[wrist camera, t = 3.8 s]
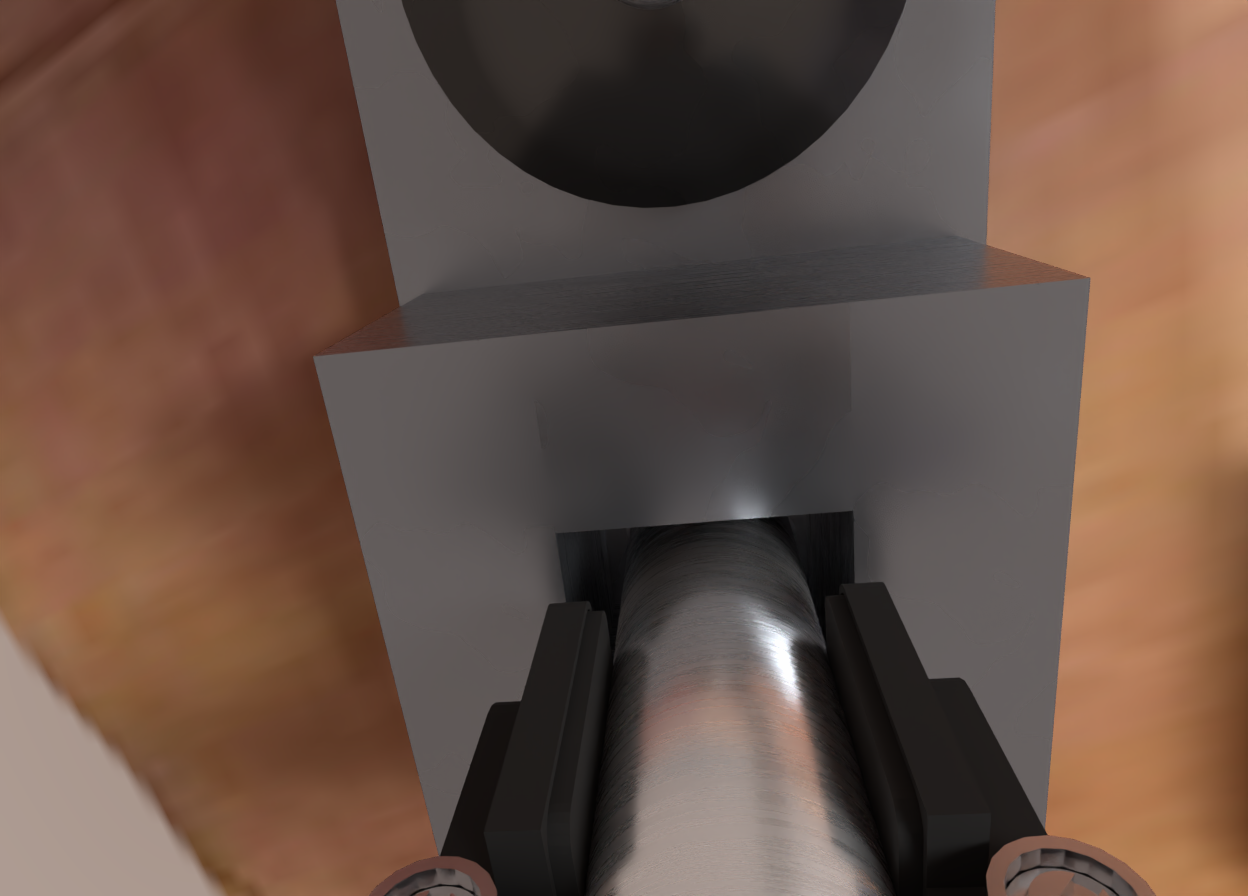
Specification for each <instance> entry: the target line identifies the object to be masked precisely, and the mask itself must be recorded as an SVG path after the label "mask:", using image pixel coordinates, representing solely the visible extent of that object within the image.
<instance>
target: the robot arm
mask: <svg viewBox="0 0 1248 896" xmlns="http://www.w3.org/2000/svg"><path fill="white" fill-rule="evenodd" d="M825 618H826V648H827V656H828V660H829V663H830V667H831V670H832V674H833V677H834V681H835V684H836V687H837V691H838V694H839V698H840V701H841V705H842V708H843V712H844V715H845V719H846V722H847V726H848V729H849V733H850V736H851V740H852V743H853V747H854V750H855V754H856V757H857V761H858V764H859V768H860V771H861V775H862V778H863V782H864V785H865V789H866V792H867V796H868V799H869V803H870V806H871V810H872V813H873V817H874V820H875V824H876V827H877V831H878V834H879V838H880V841H881V845H882V848H883V852H884V855H885V859H886V862H887V866H888V869H889V873H890V876H891V880H892V883H893V887H894V890H895V894H896V896H1156V895H1155V893H1154V892H1153V891H1152V889H1151V888H1150V886H1149V885H1148V883H1147V882H1146V881H1145V880H1144V879H1142V878H1141V877H1140V876H1139V875H1138V874H1137V873H1136V872H1134V871H1133V870H1132V869H1131V868H1130V867H1129V866H1128V865H1127V864H1125V863H1124V862H1122V861H1120V860H1119V859H1117V858H1115V857H1114V856H1112V855H1110V854H1108V853H1107V852H1105V851H1103V850H1102V849H1100V848H1097V847H1094V846H1091V845H1089V844H1086V843H1083V842H1080V841H1077V840H1075V839H1070V838H1063V837H1056V836H1049V835H1047V833H1046V831H1045V829H1044V827H1043V825H1042V824H1041V822H1040V820H1039V818H1038V816H1037V814H1036V812H1035V810H1034V808H1033V807H1032V805H1031V803H1030V801H1029V799H1028V797H1027V795H1026V793H1025V791H1024V790H1023V788H1022V786H1021V784H1020V782H1019V780H1018V778H1017V776H1016V774H1015V773H1014V771H1013V769H1012V767H1011V765H1010V763H1009V761H1008V759H1007V757H1006V756H1005V754H1004V752H1003V750H1002V748H1001V746H1000V744H999V742H998V741H997V739H996V737H995V735H994V733H993V731H992V729H991V727H990V725H989V724H988V722H987V720H986V718H985V716H984V714H983V712H982V710H981V708H980V707H979V705H978V703H977V701H976V699H975V697H974V695H973V693H972V691H971V690H970V688H969V686H968V685H967V683H966V682H965V680H963V679H961V678H960V677H957V678H938V679H929V678H928V676H927V674H926V672H925V669H924V667H923V665H922V663H921V661H920V659H919V657H918V654H917V652H916V650H915V648H914V646H913V644H912V641H911V639H910V637H909V635H908V633H907V631H906V628H905V626H904V624H903V622H902V620H901V618H900V616H899V613H898V611H897V609H896V607H895V605H894V603H893V600H892V598H891V596H890V594H889V592H888V590H887V587H886V585H885V584H884V582H868V583H853V584H841V585H840V590H839V595H835V596H826V598H825ZM612 673H613V659H612V652H611V645H610V638H609V631H608V623H607V617H606V613H605V611H592V608H591V604H590V602H589V601H581V602H566V603H551V604H549V606H548V608H547V611H546V615H545V618H544V622H543V625H542V629H541V632H540V636H539V639H538V643H537V646H536V650H535V653H534V657H533V661H532V664H531V668H530V671H529V675H528V678H527V682H526V685H525V689H524V692H523V696H522V699H521V701H512V702H495V703H494V704H493V705H491V707H490V710H489V712H488V714H487V717H486V720H485V723H484V726H483V729H482V732H481V735H480V738H479V741H478V744H477V747H476V750H475V753H474V756H473V759H472V762H471V764H470V767H469V770H468V773H467V776H466V779H465V782H464V785H463V788H462V791H461V794H460V797H459V800H458V803H457V806H456V809H455V812H454V815H453V818H452V821H451V824H450V827H449V830H448V833H447V836H446V839H445V842H444V845H443V848H442V851H441V854H440V856H437V857H433V858H428V859H424V860H420V861H416V862H414V863H412V864H410V865H408V866H406V867H404V868H402V869H400V870H398V871H396V872H394V873H393V874H392V875H390V876H389V877H388V878H387V879H385V880H384V881H383V882H381V883H380V884H379V885H377V886H376V887H375V889H374V890H373V891H372V892H371V893H370V895H369V896H584V894H585V887H586V879H587V871H588V863H589V855H590V847H591V839H592V831H593V823H594V815H595V808H596V800H597V792H598V784H599V776H600V768H601V760H602V752H603V744H604V737H605V729H606V721H607V713H608V705H609V697H610V689H611V681H612Z"/></svg>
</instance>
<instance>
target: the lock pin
mask: <svg viewBox="0 0 1248 896" xmlns="http://www.w3.org/2000/svg"><path fill="white" fill-rule="evenodd" d="M584 896H896V894H895V890H894V887H893V883H892V880H891V876H890V873H889V869H888V866H887V862H886V859H885V855H884V852H883V848H882V845H881V841H880V838H879V834H878V831H877V827H876V824H875V820H874V817H873V813H872V810H871V806H870V803H869V799H868V796H867V792H866V789H865V785H864V782H863V778H862V775H861V771H860V768H859V764H858V761H857V757H856V754H855V750H854V747H853V743H852V740H851V736H850V733H849V729H848V726H847V722H846V719H845V715H844V712H843V708H842V705H841V701H840V698H839V694H838V691H837V687H836V684H835V681H834V677H833V674H832V670H831V667H830V663H829V660H828V656H827V649H826V646H825V643H824V639H823V636H822V632H821V629H820V625H819V622H818V618H817V615H816V611H815V608H814V604H813V601H812V597H811V594H810V590H809V587H808V584H807V580H806V577H805V573H804V570H803V566H802V563H801V559H800V556H799V552H798V549H797V545H796V542H795V538H794V535H793V532H792V528H791V525H790V521H789V518H788V516H777V517H764V518H751V519H738V520H725V521H712V522H699V523H685V524H672V525H659V526H646V527H633V528H630V536H629V543H628V551H627V559H626V567H625V575H624V582H623V590H622V598H621V606H620V614H619V621H618V629H617V637H616V645H615V652H614V660H613V673H612V681H611V689H610V697H609V705H608V713H607V721H606V729H605V737H604V744H603V752H602V760H601V768H600V776H599V784H598V792H597V800H596V808H595V815H594V823H593V831H592V839H591V847H590V855H589V863H588V871H587V879H586V887H585V894H584Z"/></svg>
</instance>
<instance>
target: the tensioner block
mask: <svg viewBox="0 0 1248 896" xmlns="http://www.w3.org/2000/svg"><path fill="white" fill-rule="evenodd" d="M995 1H996V0H336V5H337V9H338V14H339V19H340V24H341V28H342V33H343V38H344V43H345V47H346V52H347V57H348V62H349V67H350V71H351V76H352V81H353V86H354V90H355V95H356V100H357V105H358V109H359V114H360V119H361V124H362V128H363V133H364V138H365V143H366V147H367V152H368V157H369V162H370V167H371V171H372V176H373V181H374V186H375V190H376V195H377V200H378V205H379V209H380V214H381V219H382V224H383V228H384V233H385V238H386V243H387V248H388V252H389V257H390V262H391V267H392V271H393V276H394V281H395V286H396V290H397V295H398V300H399V305H400V307H399V308H397V309H395V310H393V311H392V312H390V313H388V314H386V315H385V316H383V317H381V318H379V319H378V320H376V321H374V322H372V323H371V324H369V325H367V326H365V327H364V328H362V329H360V330H358V331H357V332H355V333H353V334H351V335H350V336H348V337H346V338H344V339H343V340H341V341H339V342H337V343H336V344H334V345H332V346H330V347H329V348H327V349H325V350H323V351H322V352H320V353H318V354H316V355H315V356H313V359H314V363H315V367H316V371H317V375H318V379H319V382H320V386H321V390H322V394H323V398H324V402H325V406H326V410H327V414H328V418H329V422H330V426H331V430H332V434H333V438H334V442H335V446H336V450H337V454H338V458H339V462H340V466H341V470H342V474H343V478H344V482H345V486H346V489H347V493H348V497H349V501H350V505H351V509H352V513H353V517H354V521H355V525H356V529H357V533H358V537H359V541H360V545H361V549H362V553H363V557H364V561H365V565H366V569H367V573H368V577H369V581H370V585H371V589H372V593H373V597H374V600H375V604H376V608H377V612H378V616H379V620H380V624H381V628H382V632H383V636H384V640H385V644H386V648H387V652H388V656H389V660H390V664H391V668H392V672H393V676H394V680H395V684H396V688H397V692H398V696H399V700H400V704H401V708H402V711H403V715H404V719H405V723H406V727H407V731H408V735H409V739H410V743H411V747H412V751H413V755H414V759H415V763H416V767H417V771H418V775H419V779H420V783H421V787H422V791H423V795H424V799H425V803H426V807H427V811H428V815H429V819H430V822H431V826H432V830H433V834H434V838H435V842H436V846H437V850H438V854H439V856H440V854H441V851H442V848H443V845H444V842H445V839H446V836H447V833H448V830H449V827H450V824H451V821H452V818H453V815H454V812H455V809H456V806H457V803H458V800H459V797H460V794H461V791H462V788H463V785H464V782H465V779H466V776H467V773H468V770H469V767H470V764H471V762H472V759H473V756H474V753H475V750H476V747H477V744H478V741H479V738H480V735H481V732H482V729H483V726H484V723H485V720H486V717H487V714H488V712H489V710H490V707H491V705H493V704H494V703H495V702H512V701H521V699H522V696H523V692H524V689H525V685H526V682H527V678H528V675H529V671H530V668H531V664H532V661H533V657H534V653H535V650H536V646H537V643H538V639H539V636H540V632H541V629H542V625H543V622H544V618H545V615H546V611H547V608H548V606H549V604H551V603H566V602H581V601H589V602H590V604H591V608H592V611H605V613H606V617H607V623H608V631H609V638H610V645H611V652H612V659H613V660H614V652H615V645H616V637H617V629H618V621H619V614H620V606H621V598H622V590H623V582H624V575H625V567H626V559H627V551H628V543H629V536H630V528H633V527H646V526H659V525H672V524H685V523H699V522H712V521H725V520H738V519H751V518H764V517H777V516H788V518H789V521H790V525H791V528H792V532H793V535H794V538H795V542H796V545H797V549H798V552H799V556H800V559H801V563H802V566H803V570H804V573H805V577H806V580H807V584H808V587H809V590H810V594H811V597H812V601H813V604H814V608H815V611H816V615H817V618H818V622H819V625H820V629H821V632H822V636H823V639H824V643H825V646H826V618H825V598H826V596H835V595H839V590H840V585H841V584H853V583H868V582H884V584H885V585H886V587H887V590H888V592H889V594H890V596H891V598H892V600H893V603H894V605H895V607H896V609H897V611H898V613H899V616H900V618H901V620H902V622H903V624H904V626H905V628H906V631H907V633H908V635H909V637H910V639H911V641H912V644H913V646H914V648H915V650H916V652H917V654H918V657H919V659H920V661H921V663H922V665H923V667H924V669H925V672H926V674H927V676H928V678H929V679H938V678H957V677H960V678H961V679H963V680H965V682H966V683H967V685H968V686H969V688H970V690H971V691H972V693H973V695H974V697H975V699H976V701H977V703H978V705H979V707H980V708H981V710H982V712H983V714H984V716H985V718H986V720H987V722H988V724H989V725H990V727H991V729H992V731H993V733H994V735H995V737H996V739H997V741H998V742H999V744H1000V746H1001V748H1002V750H1003V752H1004V754H1005V756H1006V757H1007V759H1008V761H1009V763H1010V765H1011V767H1012V769H1013V771H1014V773H1015V774H1016V776H1017V778H1018V780H1019V782H1020V784H1021V786H1022V788H1023V790H1024V791H1025V793H1026V795H1027V797H1028V799H1029V801H1030V803H1031V805H1032V807H1033V808H1034V810H1035V812H1036V814H1037V816H1038V818H1039V820H1040V822H1041V824H1042V825H1043V827H1044V829H1045V822H1046V810H1047V797H1048V785H1049V773H1050V761H1051V749H1052V737H1053V725H1054V713H1055V701H1056V689H1057V676H1058V664H1059V652H1060V640H1061V628H1062V616H1063V604H1064V592H1065V580H1066V567H1067V555H1068V543H1069V531H1070V519H1071V507H1072V495H1073V483H1074V471H1075V459H1076V446H1077V434H1078V422H1079V410H1080V398H1081V386H1082V374H1083V362H1084V350H1085V338H1086V325H1087V313H1088V301H1089V289H1090V278H1089V277H1086V276H1083V275H1079V274H1076V273H1073V272H1070V271H1067V270H1064V269H1061V268H1057V267H1054V266H1051V265H1048V264H1045V263H1042V262H1038V261H1035V260H1032V259H1029V258H1026V257H1023V256H1019V255H1016V254H1013V253H1010V252H1007V251H1004V250H1000V249H997V248H994V247H991V246H988V245H986V236H987V210H988V184H989V158H990V132H991V105H992V79H993V53H994V27H995ZM826 649H827V648H826Z"/></svg>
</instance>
